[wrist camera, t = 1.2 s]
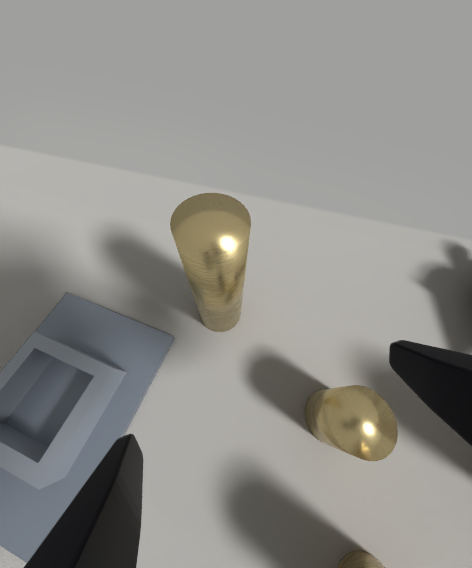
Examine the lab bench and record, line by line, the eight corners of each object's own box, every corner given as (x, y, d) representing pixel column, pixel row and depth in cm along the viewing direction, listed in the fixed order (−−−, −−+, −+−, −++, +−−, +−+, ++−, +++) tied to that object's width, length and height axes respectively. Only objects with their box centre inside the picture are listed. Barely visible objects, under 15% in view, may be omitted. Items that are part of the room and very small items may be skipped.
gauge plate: (53, 569, 15) (12, 608, 12) (-82, 482, 16) (-145, 498, 14) (174, 338, 22) (166, 328, 19) (71, 294, 23) (49, 280, 21)
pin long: (231, 338, 22) (233, 265, 10) (193, 323, 22) (155, 237, 11) (245, 302, 23) (261, 205, 12) (210, 289, 24) (192, 184, 13)
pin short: (350, 454, 18) (395, 474, 13) (300, 432, 18) (325, 442, 13) (356, 400, 19) (399, 400, 15) (311, 382, 20) (337, 375, 15)
